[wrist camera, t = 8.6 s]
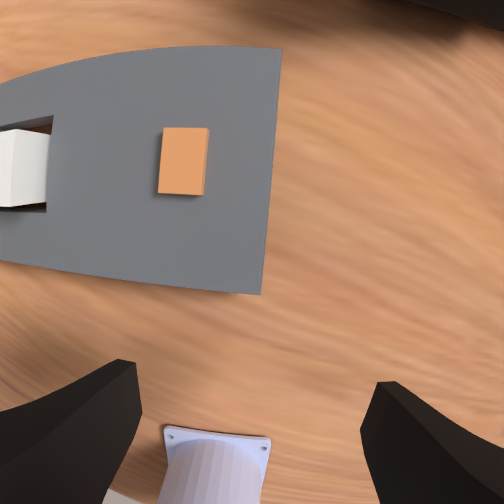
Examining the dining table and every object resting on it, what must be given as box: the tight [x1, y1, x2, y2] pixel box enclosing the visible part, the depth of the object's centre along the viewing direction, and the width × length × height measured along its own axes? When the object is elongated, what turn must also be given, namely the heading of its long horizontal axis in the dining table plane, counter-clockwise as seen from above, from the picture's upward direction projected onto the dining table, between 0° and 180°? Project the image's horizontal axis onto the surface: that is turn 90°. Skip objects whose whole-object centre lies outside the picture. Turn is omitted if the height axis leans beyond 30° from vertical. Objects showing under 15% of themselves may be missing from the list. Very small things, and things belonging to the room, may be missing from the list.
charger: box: [0, 129, 51, 207], centre depth 14 cm, size 4×4×5 cm
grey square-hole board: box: [0, 46, 282, 295], centre depth 14 cm, size 12×22×3 cm, turn 85°
